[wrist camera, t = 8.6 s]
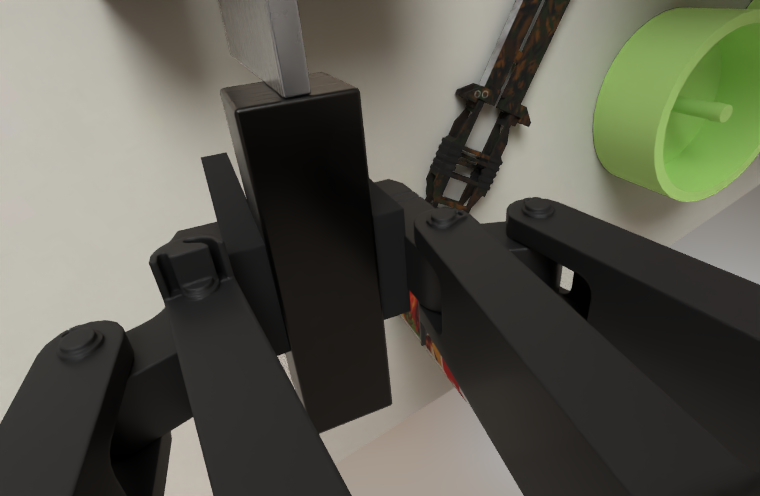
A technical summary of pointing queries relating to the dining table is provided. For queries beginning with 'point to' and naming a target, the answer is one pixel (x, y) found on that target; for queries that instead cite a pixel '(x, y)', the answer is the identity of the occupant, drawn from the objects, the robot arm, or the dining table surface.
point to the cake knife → (310, 211)
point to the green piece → (683, 102)
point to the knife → (489, 94)
